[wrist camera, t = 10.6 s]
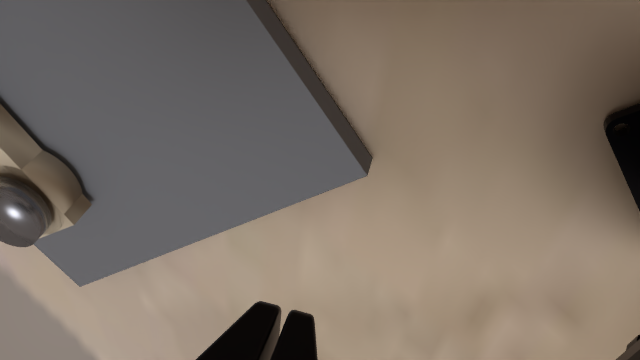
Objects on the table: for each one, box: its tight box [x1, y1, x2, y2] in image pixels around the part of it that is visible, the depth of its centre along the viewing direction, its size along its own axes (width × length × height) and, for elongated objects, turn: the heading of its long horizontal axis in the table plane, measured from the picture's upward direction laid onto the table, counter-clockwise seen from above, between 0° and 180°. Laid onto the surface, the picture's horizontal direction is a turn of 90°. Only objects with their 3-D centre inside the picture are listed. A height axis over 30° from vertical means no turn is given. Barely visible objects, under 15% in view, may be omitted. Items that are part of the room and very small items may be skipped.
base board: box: [0, 0, 372, 287], centre depth 23 cm, size 22×19×1 cm
